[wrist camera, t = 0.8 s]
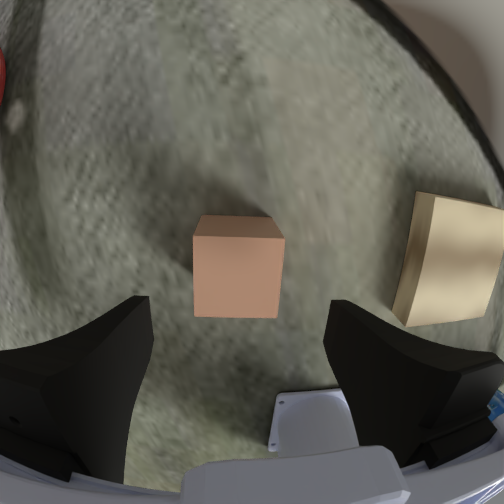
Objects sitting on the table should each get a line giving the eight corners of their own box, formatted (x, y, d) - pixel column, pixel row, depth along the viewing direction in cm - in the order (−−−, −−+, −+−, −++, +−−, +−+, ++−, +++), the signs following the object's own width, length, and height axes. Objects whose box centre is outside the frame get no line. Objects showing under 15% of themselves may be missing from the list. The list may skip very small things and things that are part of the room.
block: (266, 280, 21) (277, 317, 16) (201, 279, 21) (194, 316, 16) (271, 217, 20) (285, 238, 15) (201, 214, 19) (193, 235, 14)
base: (468, 304, 24) (483, 316, 21) (391, 311, 23) (405, 327, 20) (492, 205, 20) (511, 212, 18) (415, 190, 19) (435, 196, 17)
